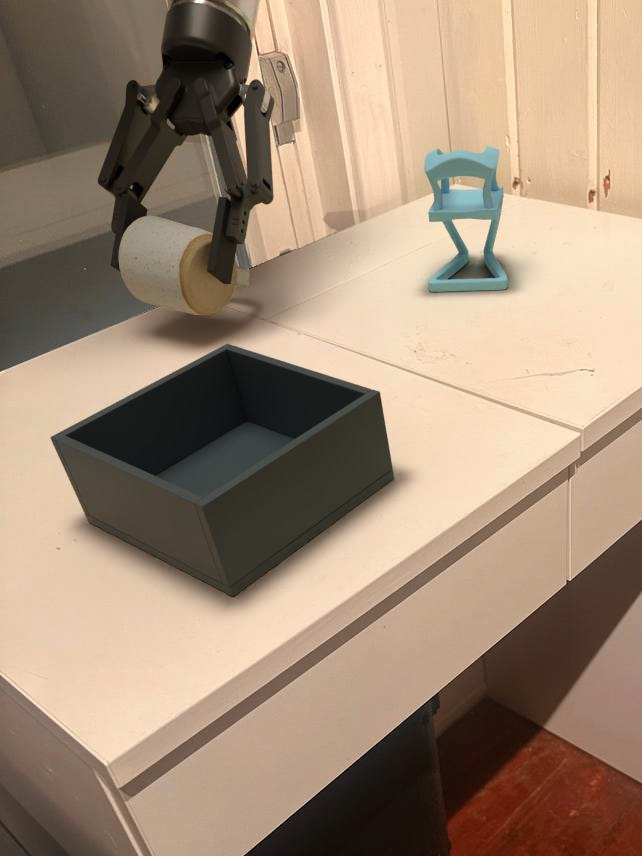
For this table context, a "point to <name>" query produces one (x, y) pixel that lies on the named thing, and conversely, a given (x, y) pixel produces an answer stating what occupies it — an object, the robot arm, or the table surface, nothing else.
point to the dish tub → (228, 463)
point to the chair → (466, 213)
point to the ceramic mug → (174, 267)
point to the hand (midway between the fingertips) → (170, 274)
